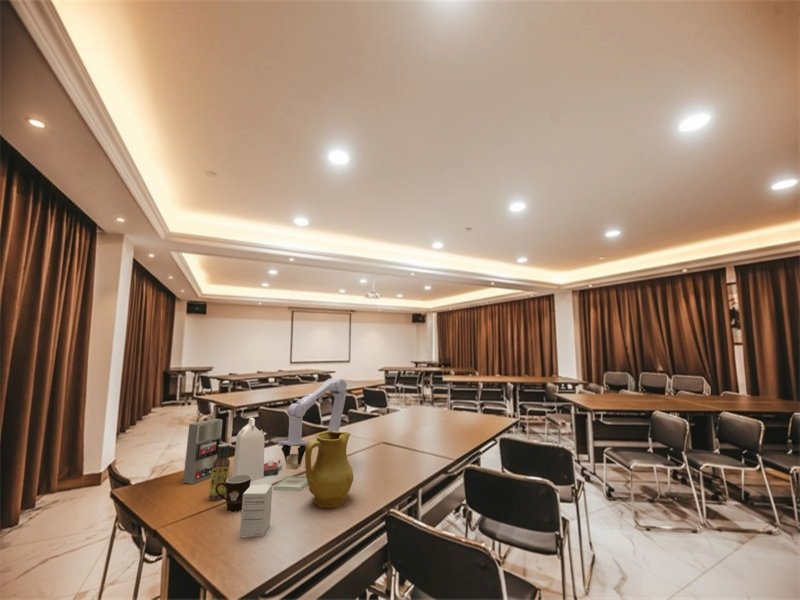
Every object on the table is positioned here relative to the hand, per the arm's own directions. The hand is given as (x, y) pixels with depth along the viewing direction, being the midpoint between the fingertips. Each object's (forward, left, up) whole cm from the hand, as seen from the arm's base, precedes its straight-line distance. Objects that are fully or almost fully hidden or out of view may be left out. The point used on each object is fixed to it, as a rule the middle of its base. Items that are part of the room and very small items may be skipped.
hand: (293, 463), depth 143 cm
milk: (+25, -6, -9) cm, 27 cm away
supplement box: (-4, +39, -9) cm, 40 cm away
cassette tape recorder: (+45, -2, -9) cm, 45 cm away
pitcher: (-21, +16, -9) cm, 28 cm away
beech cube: (0, 0, -2) cm, 2 cm away
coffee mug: (+13, +24, -9) cm, 28 cm away
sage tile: (0, +1, -8) cm, 8 cm away
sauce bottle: (+24, +17, -9) cm, 30 cm away
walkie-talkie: (+18, -17, -9) cm, 26 cm away
